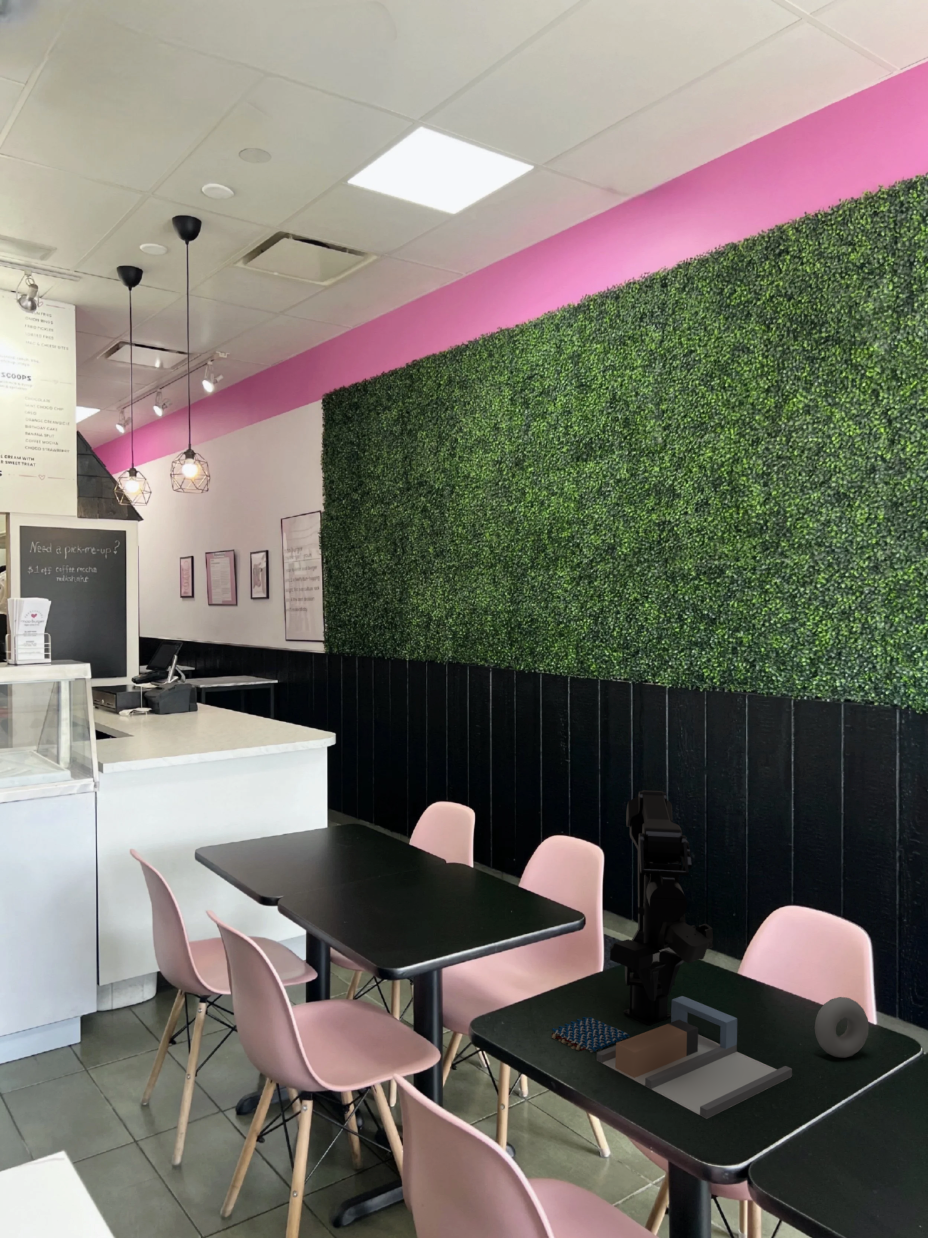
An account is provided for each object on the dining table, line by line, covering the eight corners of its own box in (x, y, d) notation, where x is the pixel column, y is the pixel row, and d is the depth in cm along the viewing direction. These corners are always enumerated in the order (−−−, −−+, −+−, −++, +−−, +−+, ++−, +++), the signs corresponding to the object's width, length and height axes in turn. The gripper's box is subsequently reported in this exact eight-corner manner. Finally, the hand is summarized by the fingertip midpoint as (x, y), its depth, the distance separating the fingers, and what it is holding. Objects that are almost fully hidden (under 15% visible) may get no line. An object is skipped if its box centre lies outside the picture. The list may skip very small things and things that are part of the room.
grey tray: (596, 1065, 147) (597, 1025, 148) (681, 1031, 161) (682, 996, 161) (706, 1124, 130) (707, 1079, 130) (791, 1081, 144) (792, 1041, 144)
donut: (859, 1049, 156) (859, 991, 156) (872, 1058, 152) (873, 999, 153) (809, 1055, 153) (810, 996, 153) (822, 1064, 150) (823, 1004, 150)
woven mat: (594, 1063, 149) (594, 1050, 149) (548, 1040, 157) (548, 1028, 157) (634, 1045, 156) (634, 1034, 156) (588, 1025, 164) (588, 1014, 164)
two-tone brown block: (615, 1068, 145) (616, 1043, 145) (678, 1042, 155) (679, 1019, 155) (634, 1078, 142) (634, 1052, 142) (697, 1051, 151) (698, 1027, 152)
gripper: (662, 926, 137) (660, 1029, 136) (736, 906, 148) (734, 1001, 148) (608, 908, 145) (606, 1004, 145) (682, 890, 157) (680, 980, 156)
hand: (659, 998), depth 148 cm, fingers open, 3 cm apart
